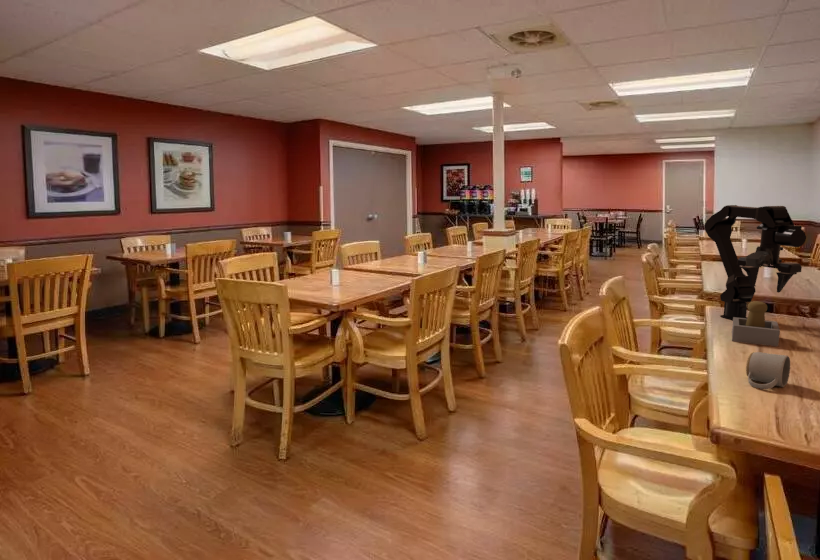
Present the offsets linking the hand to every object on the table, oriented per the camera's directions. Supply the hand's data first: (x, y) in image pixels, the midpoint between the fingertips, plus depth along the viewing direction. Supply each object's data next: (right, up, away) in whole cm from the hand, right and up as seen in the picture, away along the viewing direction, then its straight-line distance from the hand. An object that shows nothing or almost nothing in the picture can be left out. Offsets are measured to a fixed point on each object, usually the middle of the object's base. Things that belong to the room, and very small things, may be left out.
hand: (765, 289), depth 182 cm
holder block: (-11, -15, -11) cm, 22 cm away
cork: (-11, -15, -11) cm, 21 cm away
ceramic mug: (-32, -23, -48) cm, 62 cm away
